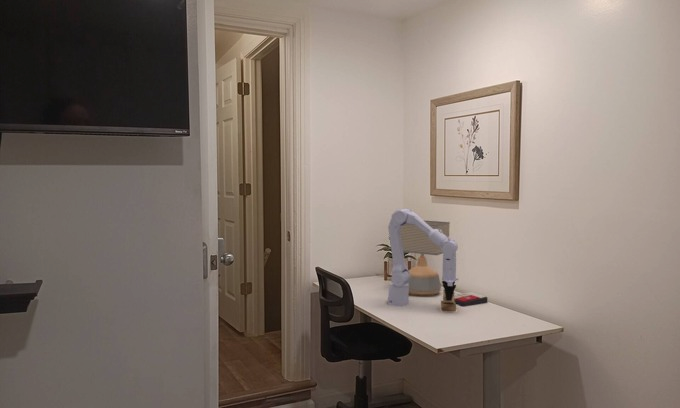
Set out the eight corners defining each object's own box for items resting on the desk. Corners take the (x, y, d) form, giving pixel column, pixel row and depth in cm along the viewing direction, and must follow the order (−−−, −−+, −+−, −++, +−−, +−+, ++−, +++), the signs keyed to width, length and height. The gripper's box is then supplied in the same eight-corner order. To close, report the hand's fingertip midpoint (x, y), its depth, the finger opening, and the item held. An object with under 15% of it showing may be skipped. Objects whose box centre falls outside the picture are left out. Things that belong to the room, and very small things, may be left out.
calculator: (446, 295, 241) (471, 290, 248) (447, 304, 241) (471, 299, 248) (463, 300, 231) (487, 295, 238) (463, 310, 232) (487, 304, 239)
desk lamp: (449, 292, 261) (450, 220, 259) (434, 300, 245) (436, 223, 243) (409, 286, 273) (411, 217, 270) (393, 293, 257) (394, 220, 254)
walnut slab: (441, 310, 224) (441, 304, 224) (440, 307, 230) (441, 300, 230) (455, 311, 224) (455, 304, 223) (454, 307, 229) (454, 301, 229)
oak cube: (443, 302, 225) (443, 292, 224) (443, 299, 229) (443, 289, 229) (454, 302, 224) (454, 292, 224) (453, 300, 229) (453, 290, 228)
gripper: (460, 271, 218) (459, 303, 219) (457, 265, 232) (456, 295, 233) (443, 271, 219) (442, 302, 220) (441, 264, 233) (440, 294, 234)
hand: (448, 298), depth 227 cm, fingers closed on oak cube, 4 cm apart
